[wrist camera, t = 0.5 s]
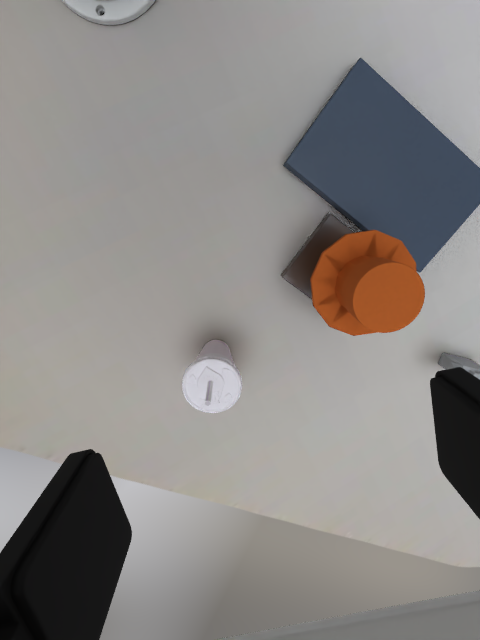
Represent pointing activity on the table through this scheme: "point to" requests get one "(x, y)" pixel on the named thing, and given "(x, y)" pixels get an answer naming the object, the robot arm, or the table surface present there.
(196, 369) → the smoothie
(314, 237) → the hat stand
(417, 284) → the hat
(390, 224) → the low stand
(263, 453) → the table surface
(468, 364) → the lighter
